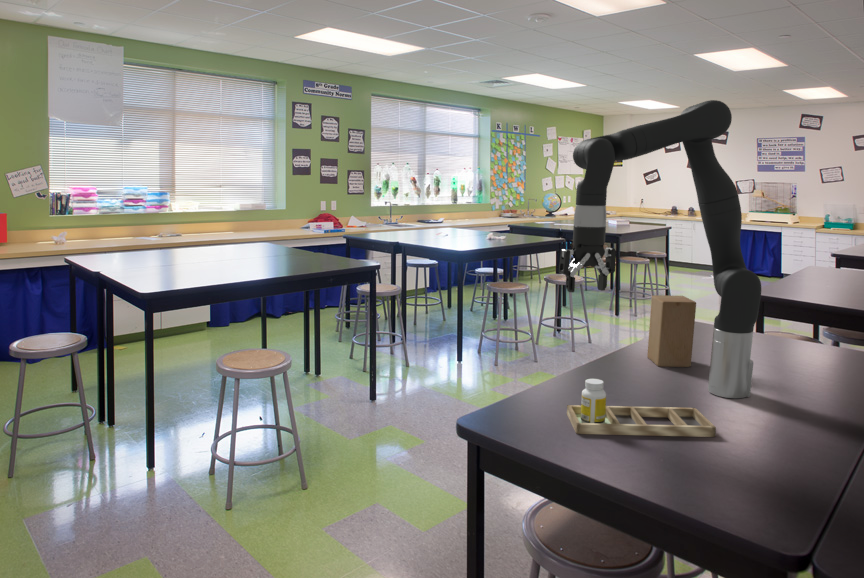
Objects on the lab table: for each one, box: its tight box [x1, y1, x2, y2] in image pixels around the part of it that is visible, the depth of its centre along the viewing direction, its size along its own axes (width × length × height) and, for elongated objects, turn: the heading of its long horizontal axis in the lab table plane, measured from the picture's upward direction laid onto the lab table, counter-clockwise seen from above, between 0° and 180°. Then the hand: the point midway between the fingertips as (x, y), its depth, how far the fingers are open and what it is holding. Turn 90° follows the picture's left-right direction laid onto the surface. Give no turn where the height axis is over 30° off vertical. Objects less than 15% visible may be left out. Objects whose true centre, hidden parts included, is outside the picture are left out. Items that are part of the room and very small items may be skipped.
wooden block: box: [646, 294, 697, 368], centre depth 187 cm, size 10×10×20 cm
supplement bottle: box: [580, 378, 607, 424], centre depth 140 cm, size 5×5×10 cm
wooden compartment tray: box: [566, 404, 717, 438], centre depth 140 cm, size 30×12×2 cm, turn 88°
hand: (586, 291), depth 150 cm, fingers open, 8 cm apart
